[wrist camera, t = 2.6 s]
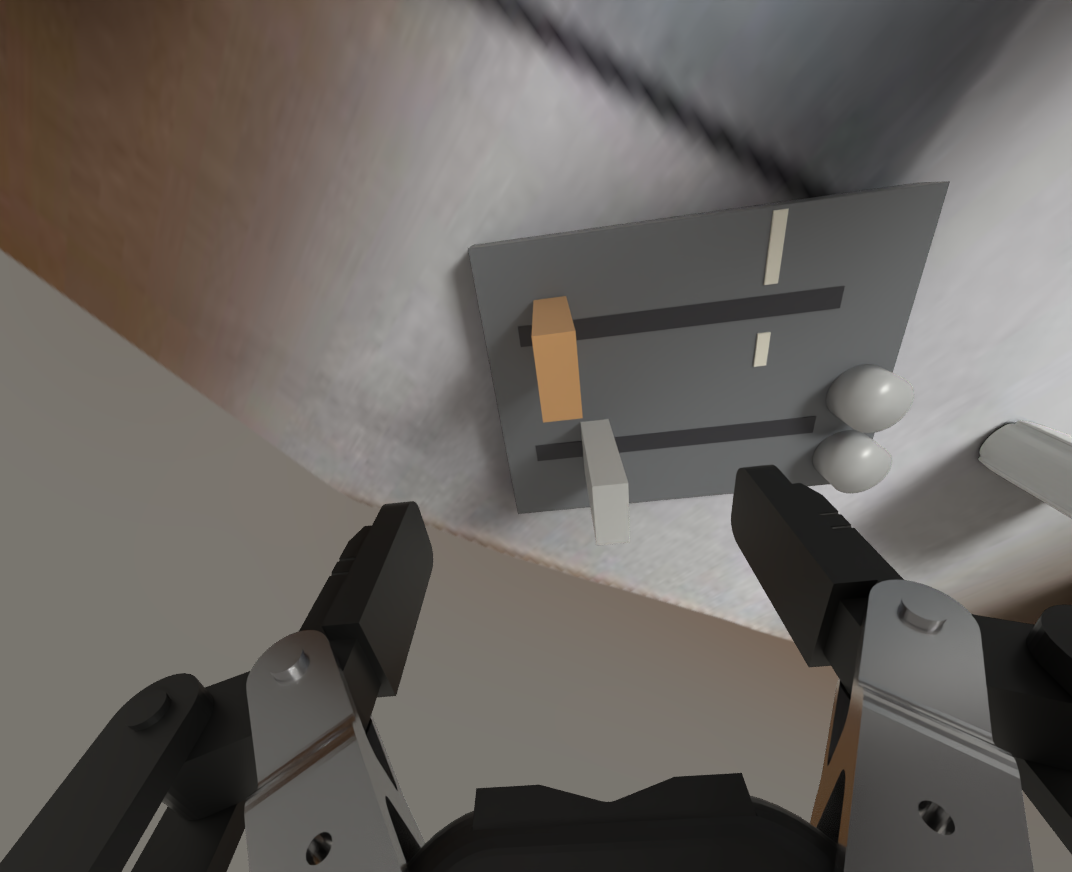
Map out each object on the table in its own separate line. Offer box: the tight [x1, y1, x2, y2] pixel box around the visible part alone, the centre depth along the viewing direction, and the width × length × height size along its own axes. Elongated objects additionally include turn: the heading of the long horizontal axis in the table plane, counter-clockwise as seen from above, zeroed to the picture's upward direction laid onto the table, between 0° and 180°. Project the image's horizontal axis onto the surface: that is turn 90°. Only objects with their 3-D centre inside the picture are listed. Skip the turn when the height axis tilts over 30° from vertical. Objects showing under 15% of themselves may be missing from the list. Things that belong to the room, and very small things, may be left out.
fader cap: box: [531, 296, 583, 423], centre depth 21 cm, size 4×2×7 cm, turn 7°
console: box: [468, 182, 950, 546], centre depth 24 cm, size 18×24×9 cm
